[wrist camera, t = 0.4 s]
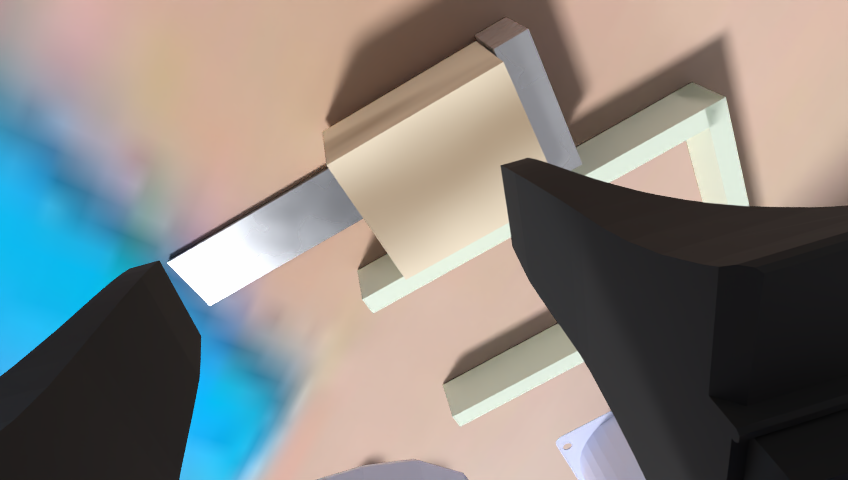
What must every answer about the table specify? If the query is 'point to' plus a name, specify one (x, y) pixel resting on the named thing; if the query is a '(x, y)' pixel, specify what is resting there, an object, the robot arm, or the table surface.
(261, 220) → the slab rail
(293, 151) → the table surface
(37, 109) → the table surface
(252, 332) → the table surface
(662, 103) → the sage cradle
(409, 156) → the maple slab
